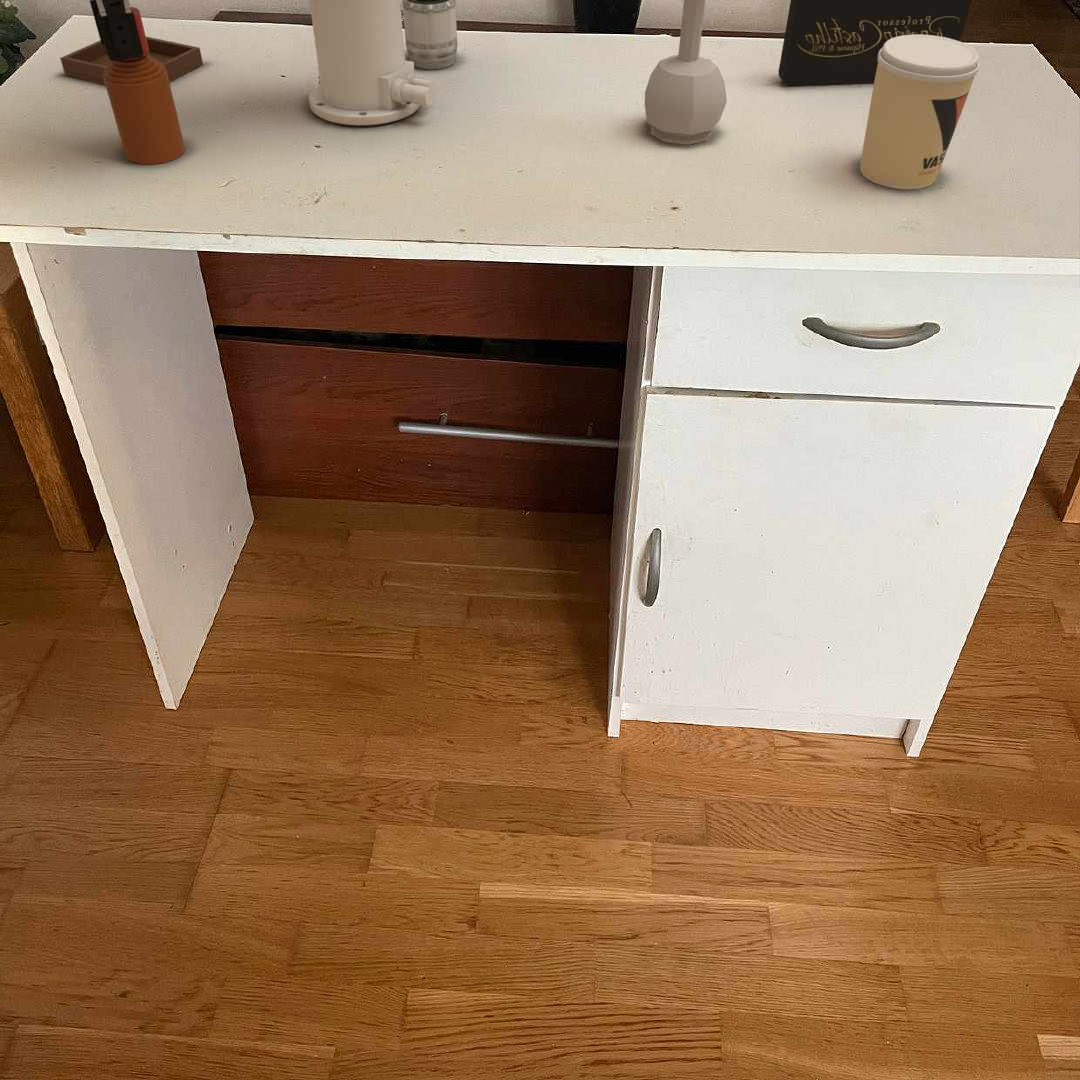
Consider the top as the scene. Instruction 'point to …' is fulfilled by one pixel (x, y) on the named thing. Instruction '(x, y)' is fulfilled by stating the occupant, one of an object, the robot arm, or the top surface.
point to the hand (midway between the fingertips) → (122, 48)
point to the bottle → (144, 110)
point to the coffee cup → (915, 108)
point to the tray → (170, 54)
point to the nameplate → (857, 35)
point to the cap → (140, 31)
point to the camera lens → (430, 32)
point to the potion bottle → (685, 87)
